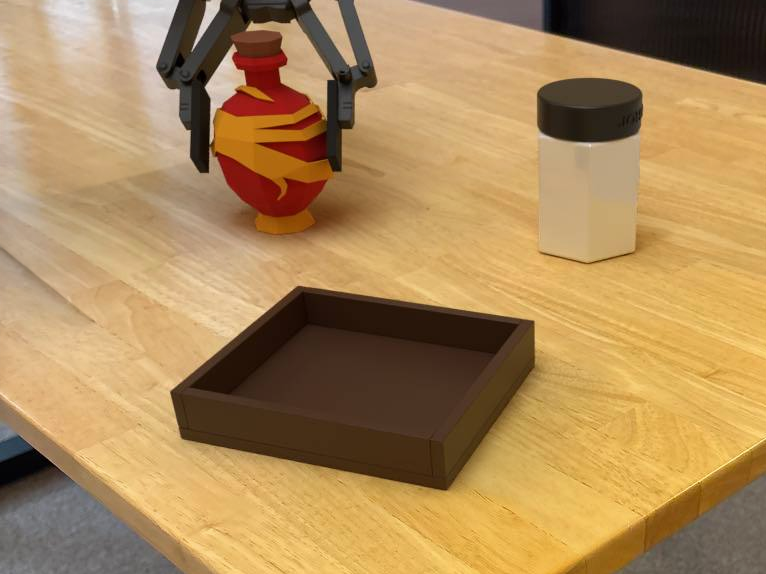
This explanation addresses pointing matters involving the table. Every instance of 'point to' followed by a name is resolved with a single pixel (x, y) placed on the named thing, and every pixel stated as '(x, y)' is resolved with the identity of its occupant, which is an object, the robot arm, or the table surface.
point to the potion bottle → (271, 138)
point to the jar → (588, 167)
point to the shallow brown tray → (360, 384)
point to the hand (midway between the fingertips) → (267, 164)
